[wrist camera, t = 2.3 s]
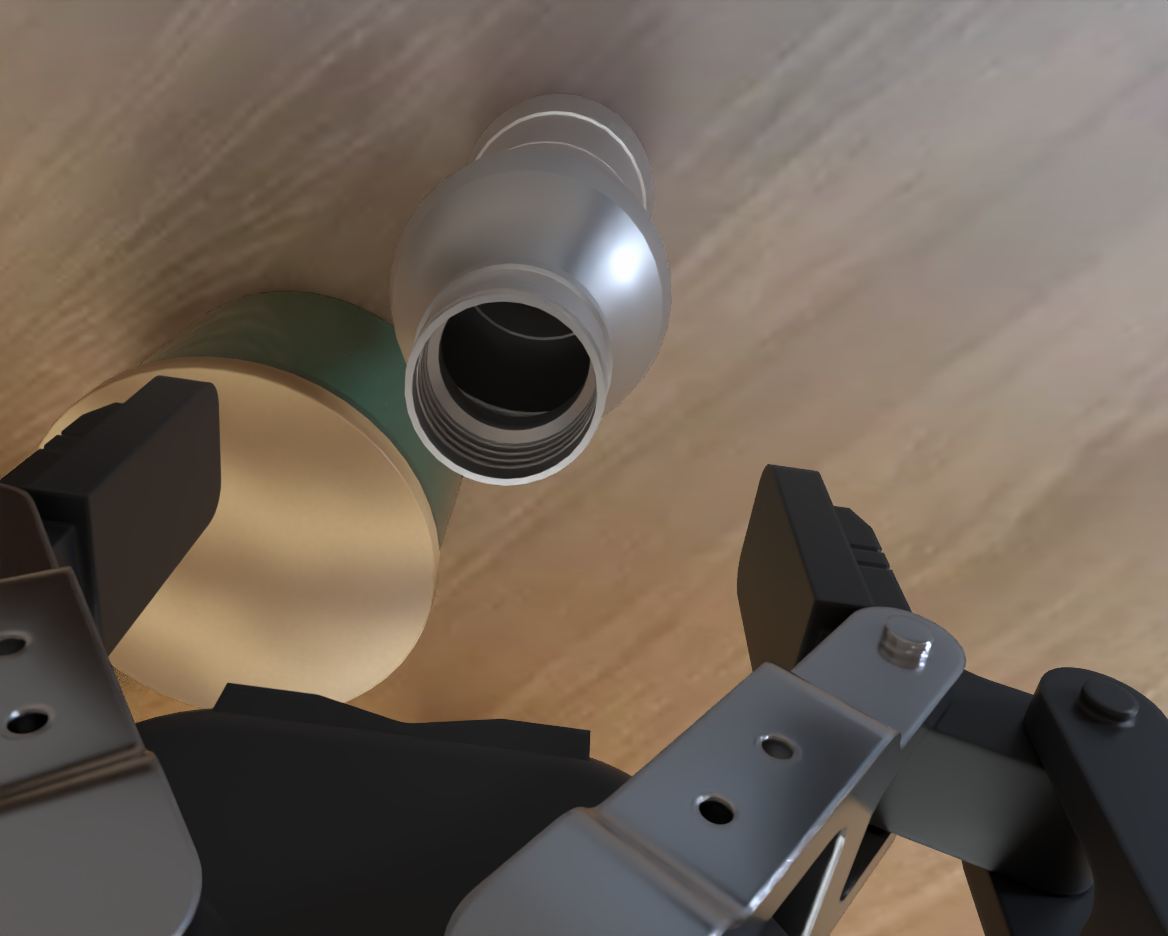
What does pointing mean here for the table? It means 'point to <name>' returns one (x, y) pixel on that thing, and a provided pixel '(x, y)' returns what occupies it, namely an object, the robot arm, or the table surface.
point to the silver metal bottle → (530, 291)
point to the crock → (294, 507)
